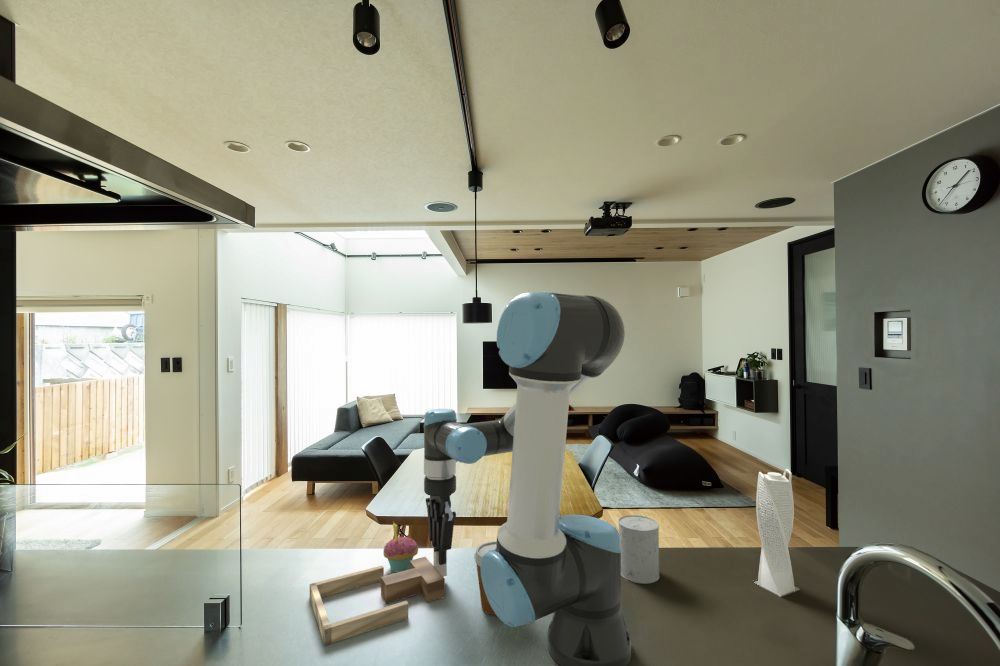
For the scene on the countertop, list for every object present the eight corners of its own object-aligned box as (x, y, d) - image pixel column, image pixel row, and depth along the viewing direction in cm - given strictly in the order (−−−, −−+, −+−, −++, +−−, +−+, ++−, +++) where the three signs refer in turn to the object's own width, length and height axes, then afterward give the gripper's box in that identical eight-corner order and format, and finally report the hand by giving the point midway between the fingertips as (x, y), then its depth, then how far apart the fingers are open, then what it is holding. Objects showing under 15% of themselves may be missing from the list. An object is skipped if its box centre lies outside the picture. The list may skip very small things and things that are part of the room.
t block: (444, 597, 100) (444, 578, 100) (391, 613, 94) (391, 594, 94) (425, 573, 110) (425, 556, 110) (376, 586, 104) (376, 569, 104)
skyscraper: (806, 594, 101) (804, 469, 102) (783, 603, 98) (781, 473, 98) (770, 576, 109) (768, 460, 109) (748, 584, 105) (746, 464, 106)
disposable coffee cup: (519, 595, 100) (519, 541, 101) (517, 621, 91) (517, 561, 91) (477, 593, 101) (477, 539, 101) (470, 618, 92) (470, 559, 92)
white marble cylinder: (610, 568, 112) (610, 518, 112) (640, 560, 116) (639, 512, 117) (637, 587, 104) (636, 533, 104) (668, 578, 108) (667, 526, 108)
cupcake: (392, 579, 107) (392, 529, 107) (377, 566, 113) (377, 518, 114) (424, 568, 112) (424, 520, 113) (407, 555, 119) (408, 510, 119)
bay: (408, 618, 92) (408, 603, 92) (324, 645, 84) (324, 629, 84) (382, 578, 108) (382, 565, 108) (309, 597, 99) (309, 584, 99)
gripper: (466, 480, 102) (466, 584, 102) (443, 466, 114) (443, 560, 113) (435, 485, 99) (435, 593, 98) (415, 470, 110) (415, 567, 109)
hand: (440, 575), depth 106 cm, fingers closed
